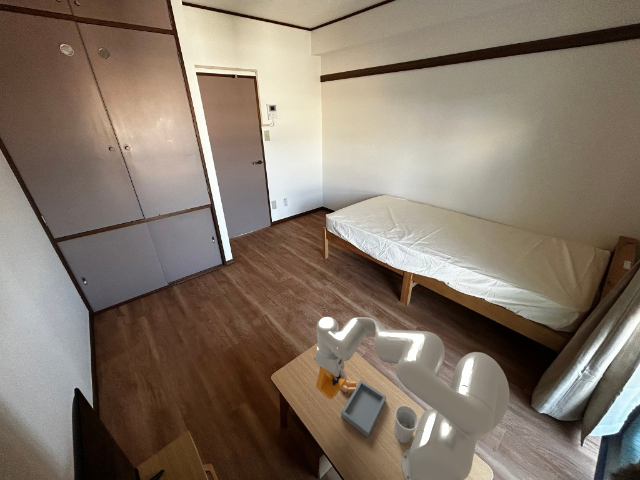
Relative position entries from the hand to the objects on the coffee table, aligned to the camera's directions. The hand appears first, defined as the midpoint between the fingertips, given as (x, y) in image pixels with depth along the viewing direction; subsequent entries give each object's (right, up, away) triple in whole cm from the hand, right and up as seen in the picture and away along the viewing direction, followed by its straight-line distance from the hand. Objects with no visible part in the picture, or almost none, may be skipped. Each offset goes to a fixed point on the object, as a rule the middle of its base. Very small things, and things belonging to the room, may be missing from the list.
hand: (330, 378), depth 96 cm
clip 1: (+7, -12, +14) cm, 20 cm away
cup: (+28, -20, -1) cm, 34 cm away
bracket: (+1, -3, +1) cm, 3 cm away
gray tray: (+14, -16, +6) cm, 22 cm away
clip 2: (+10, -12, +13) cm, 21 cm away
